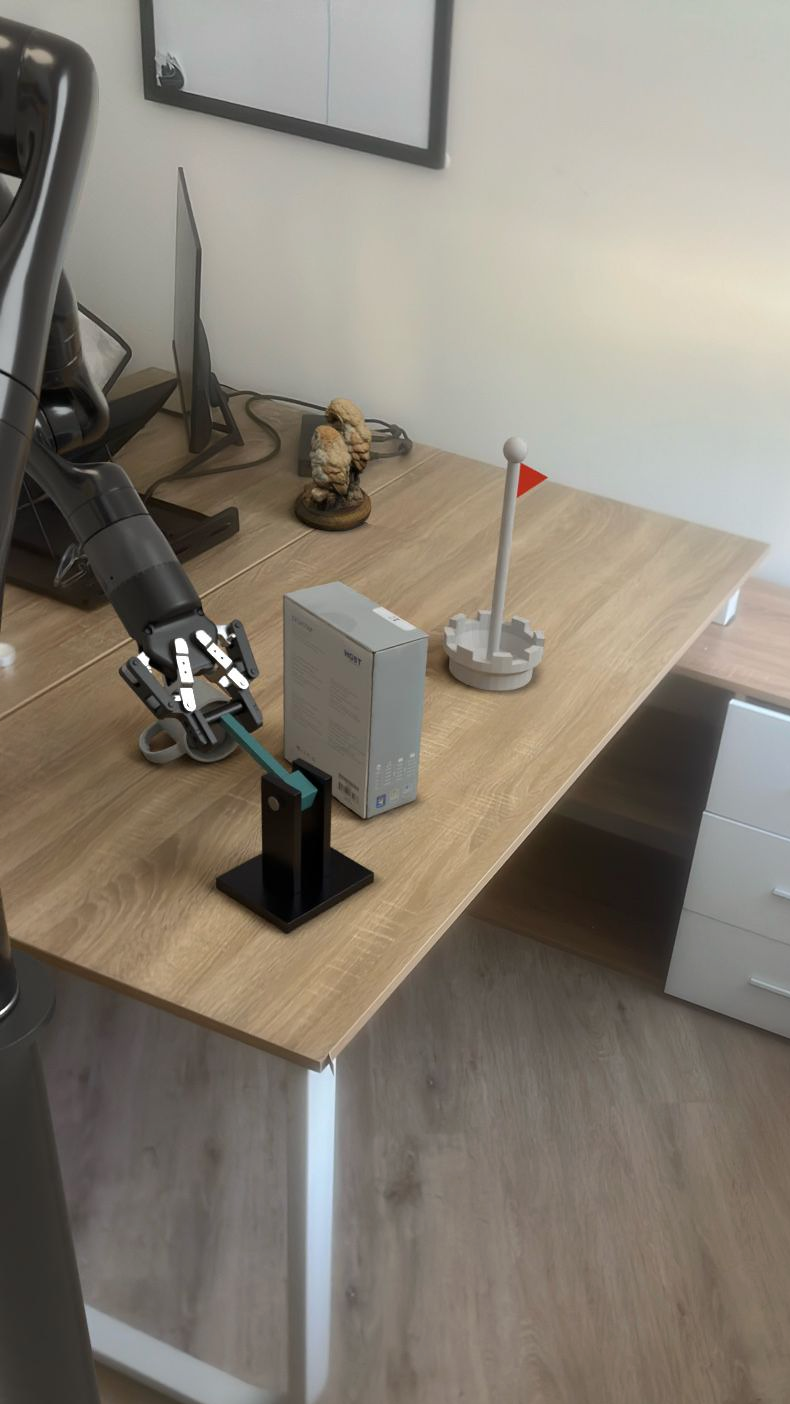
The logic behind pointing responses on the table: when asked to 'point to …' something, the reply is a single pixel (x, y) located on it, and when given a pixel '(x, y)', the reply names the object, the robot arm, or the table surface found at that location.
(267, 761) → the switch lever
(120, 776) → the table surface
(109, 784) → the table surface
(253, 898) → the switch bracket
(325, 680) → the hard drive box
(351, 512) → the owl figurine
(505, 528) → the flag stand
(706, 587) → the table surface
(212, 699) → the ceramic mug
